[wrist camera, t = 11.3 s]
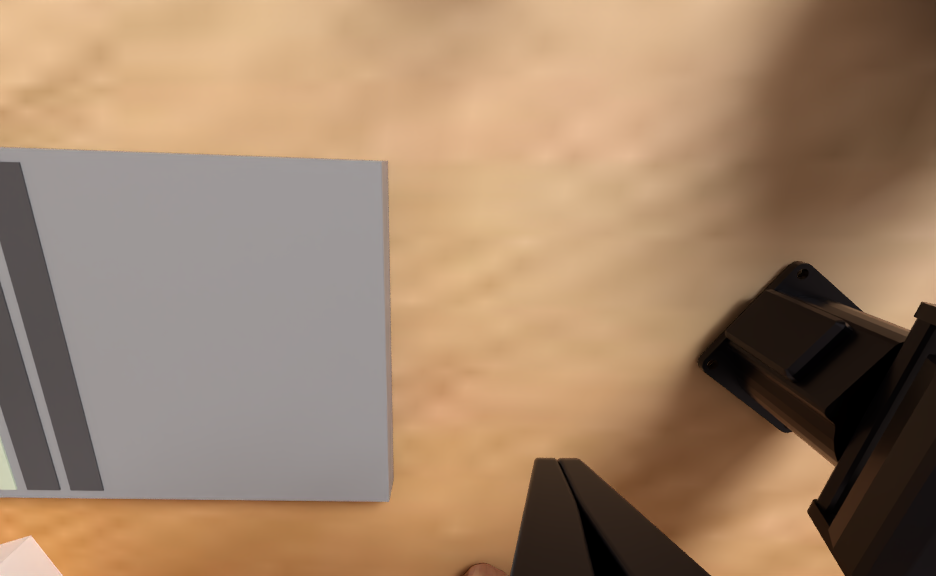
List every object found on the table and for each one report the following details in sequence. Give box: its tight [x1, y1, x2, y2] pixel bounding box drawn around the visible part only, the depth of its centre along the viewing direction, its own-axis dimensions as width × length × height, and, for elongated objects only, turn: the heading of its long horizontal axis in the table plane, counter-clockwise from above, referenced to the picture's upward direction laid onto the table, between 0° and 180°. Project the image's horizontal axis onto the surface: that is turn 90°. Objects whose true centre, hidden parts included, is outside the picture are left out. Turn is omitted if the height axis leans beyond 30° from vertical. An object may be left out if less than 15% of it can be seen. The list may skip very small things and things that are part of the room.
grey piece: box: [0, 147, 393, 502], centre depth 17 cm, size 26×16×6 cm, turn 88°
